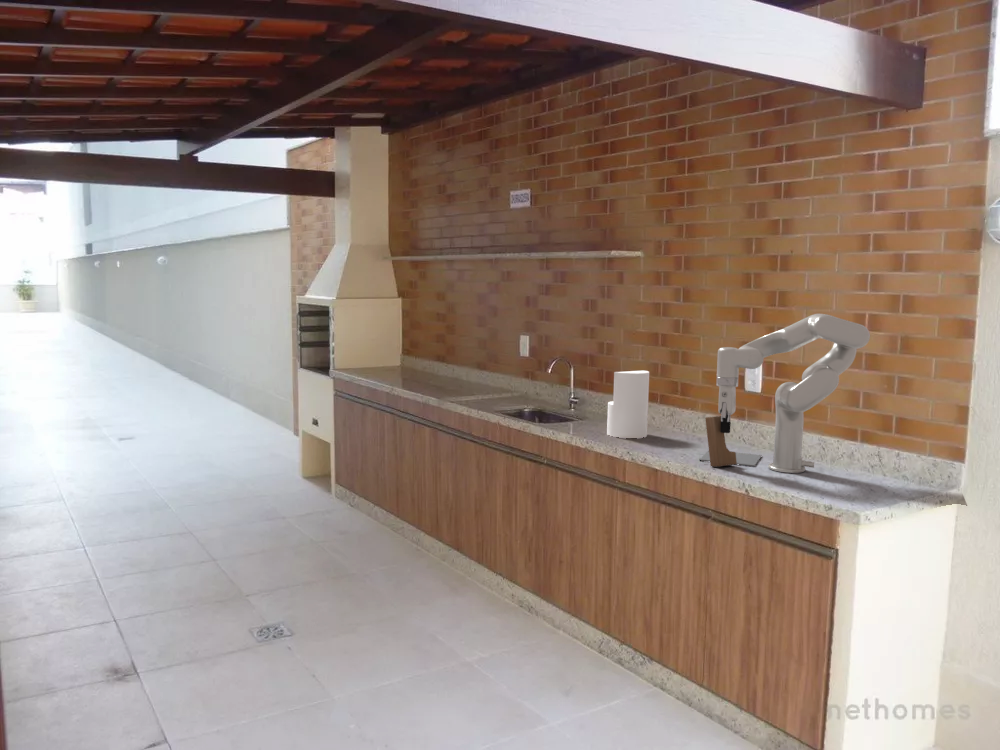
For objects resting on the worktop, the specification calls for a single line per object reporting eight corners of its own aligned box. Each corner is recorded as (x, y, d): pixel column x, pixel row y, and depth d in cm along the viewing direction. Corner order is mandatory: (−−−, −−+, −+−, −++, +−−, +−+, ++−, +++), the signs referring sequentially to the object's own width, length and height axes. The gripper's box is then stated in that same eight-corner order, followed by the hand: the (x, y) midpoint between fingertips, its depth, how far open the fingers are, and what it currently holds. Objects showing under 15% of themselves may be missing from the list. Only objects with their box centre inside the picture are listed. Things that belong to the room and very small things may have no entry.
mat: (761, 456, 317) (761, 455, 317) (754, 466, 299) (754, 465, 299) (709, 451, 326) (709, 449, 326) (699, 461, 307) (699, 459, 307)
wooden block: (728, 464, 302) (722, 415, 304) (737, 464, 298) (731, 414, 300) (710, 466, 298) (704, 417, 299) (719, 466, 294) (713, 416, 295)
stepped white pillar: (655, 436, 356) (657, 372, 353) (625, 440, 346) (628, 374, 343) (627, 430, 370) (629, 368, 367) (598, 433, 360) (600, 370, 357)
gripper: (735, 384, 284) (732, 436, 287) (741, 380, 298) (738, 430, 300) (713, 383, 287) (711, 435, 290) (719, 379, 301) (717, 428, 303)
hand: (725, 432), depth 295 cm, fingers closed
